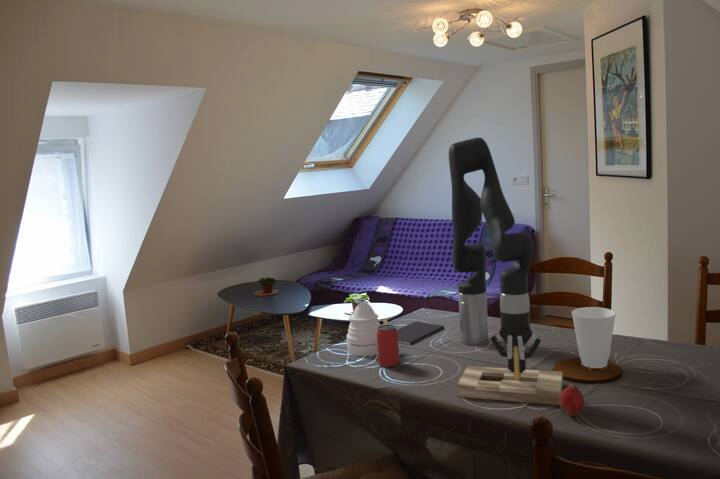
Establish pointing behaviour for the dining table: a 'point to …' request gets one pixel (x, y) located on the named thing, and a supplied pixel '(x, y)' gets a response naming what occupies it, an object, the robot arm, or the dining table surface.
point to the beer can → (387, 346)
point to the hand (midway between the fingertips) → (517, 371)
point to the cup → (594, 335)
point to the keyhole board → (511, 385)
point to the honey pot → (363, 330)
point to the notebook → (416, 332)
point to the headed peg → (516, 363)
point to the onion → (571, 400)
